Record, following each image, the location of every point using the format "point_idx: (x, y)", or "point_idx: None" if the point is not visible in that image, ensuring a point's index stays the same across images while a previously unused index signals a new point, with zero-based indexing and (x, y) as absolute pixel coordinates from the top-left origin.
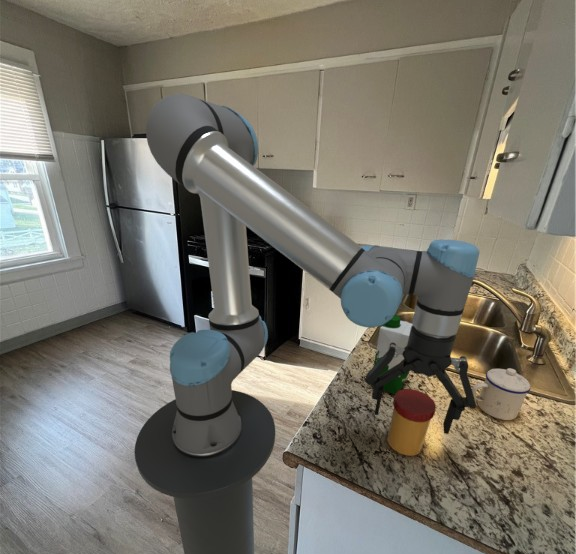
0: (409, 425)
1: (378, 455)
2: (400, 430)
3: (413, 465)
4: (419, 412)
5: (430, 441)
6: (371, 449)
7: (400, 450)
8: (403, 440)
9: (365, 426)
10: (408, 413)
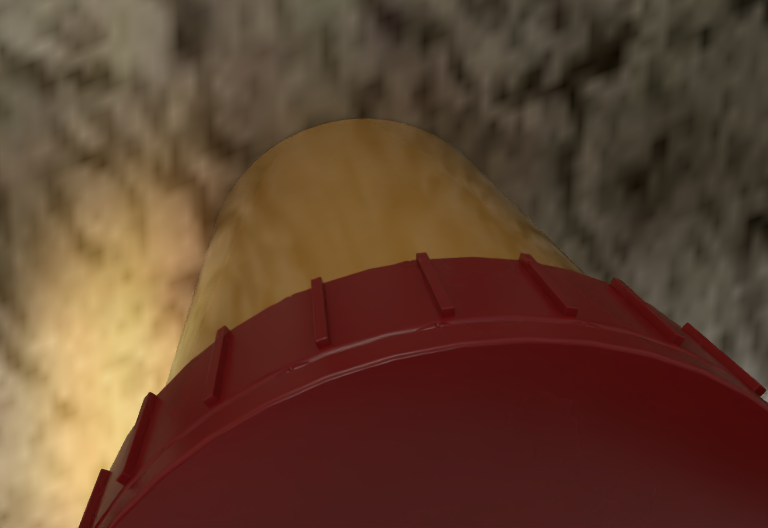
0: (461, 234)
1: (591, 24)
2: (511, 213)
3: (278, 19)
4: (404, 423)
5: (138, 363)
6: (649, 74)
7: (408, 128)
8: (428, 161)
9: (684, 320)
10: (626, 328)
